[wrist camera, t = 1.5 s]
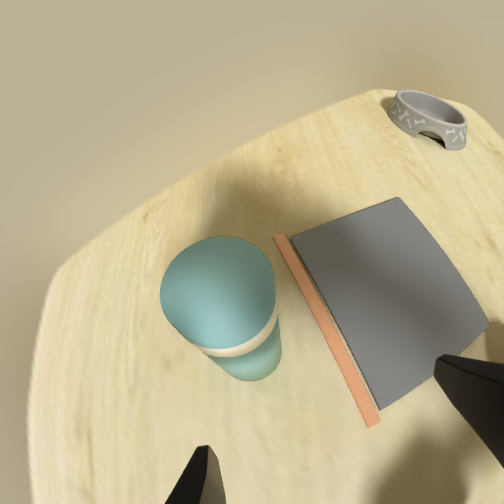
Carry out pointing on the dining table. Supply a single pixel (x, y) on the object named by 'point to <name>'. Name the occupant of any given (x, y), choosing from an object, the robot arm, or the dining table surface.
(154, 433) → the dining table surface
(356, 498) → the dining table surface
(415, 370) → the mat
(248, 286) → the teal cylinder
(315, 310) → the orange strip
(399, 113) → the dog bowl
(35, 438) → the dining table surface
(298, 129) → the dining table surface
